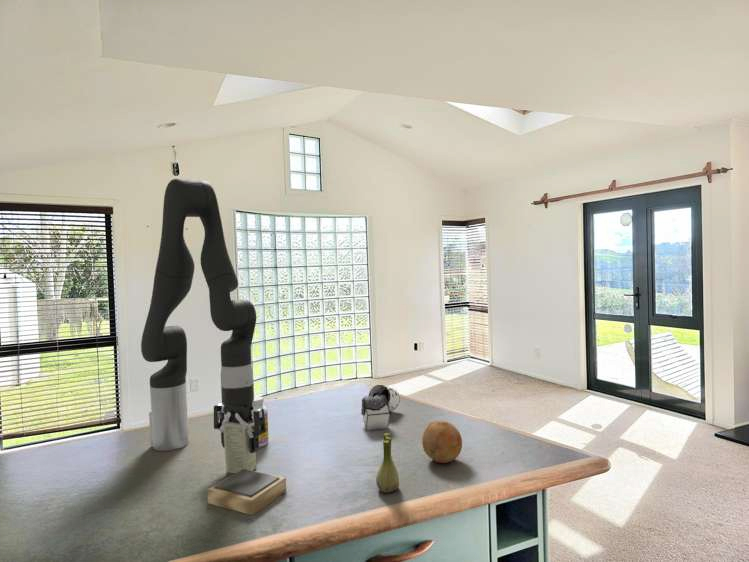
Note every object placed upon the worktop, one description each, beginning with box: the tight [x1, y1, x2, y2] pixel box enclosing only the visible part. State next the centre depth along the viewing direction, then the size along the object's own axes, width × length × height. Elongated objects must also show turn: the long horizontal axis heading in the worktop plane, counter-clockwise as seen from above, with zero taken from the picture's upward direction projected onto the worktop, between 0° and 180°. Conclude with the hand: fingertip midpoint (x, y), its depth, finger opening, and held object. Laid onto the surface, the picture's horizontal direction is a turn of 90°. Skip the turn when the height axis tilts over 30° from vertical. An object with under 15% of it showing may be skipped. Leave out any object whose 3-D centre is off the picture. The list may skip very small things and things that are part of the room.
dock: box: [206, 469, 287, 516], centre depth 105 cm, size 12×11×3 cm
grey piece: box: [360, 384, 401, 431], centre depth 153 cm, size 25×10×10 cm, turn 169°
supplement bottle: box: [252, 395, 269, 448], centre depth 136 cm, size 7×7×13 cm
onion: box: [421, 420, 463, 464], centre depth 121 cm, size 10×10×10 cm
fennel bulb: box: [375, 432, 400, 494], centre depth 106 cm, size 6×5×12 cm
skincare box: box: [223, 421, 258, 474], centre depth 119 cm, size 6×4×12 cm
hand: (240, 449), depth 119 cm, fingers open, 8 cm apart
